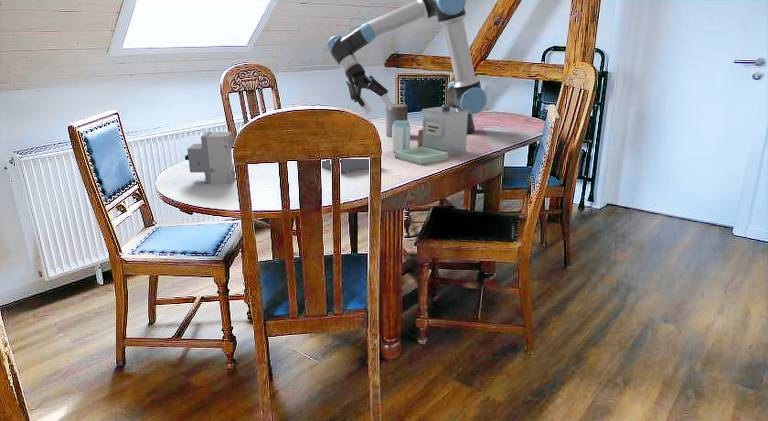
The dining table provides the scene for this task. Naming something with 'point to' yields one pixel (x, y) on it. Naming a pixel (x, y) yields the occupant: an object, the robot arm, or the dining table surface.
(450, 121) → the box
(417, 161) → the tray
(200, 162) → the circuit breaker
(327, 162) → the wheel bin
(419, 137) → the walnut block
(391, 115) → the pillar candle
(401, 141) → the can
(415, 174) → the dining table surface
